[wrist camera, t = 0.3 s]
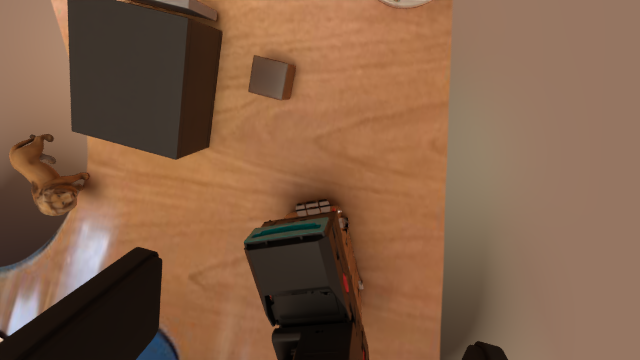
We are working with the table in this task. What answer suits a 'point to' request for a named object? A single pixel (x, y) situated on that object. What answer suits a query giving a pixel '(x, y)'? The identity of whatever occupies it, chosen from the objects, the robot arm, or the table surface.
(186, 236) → the table surface
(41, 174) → the lion figurine
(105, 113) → the cabinet
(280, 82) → the block
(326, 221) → the bill acceptor
